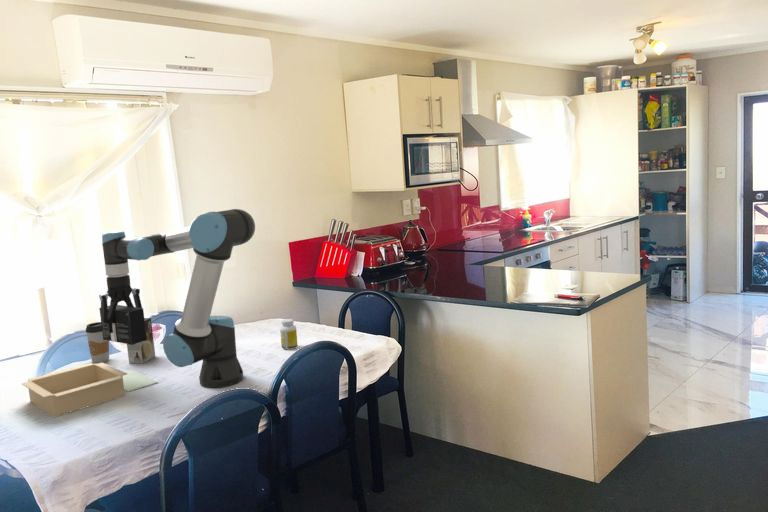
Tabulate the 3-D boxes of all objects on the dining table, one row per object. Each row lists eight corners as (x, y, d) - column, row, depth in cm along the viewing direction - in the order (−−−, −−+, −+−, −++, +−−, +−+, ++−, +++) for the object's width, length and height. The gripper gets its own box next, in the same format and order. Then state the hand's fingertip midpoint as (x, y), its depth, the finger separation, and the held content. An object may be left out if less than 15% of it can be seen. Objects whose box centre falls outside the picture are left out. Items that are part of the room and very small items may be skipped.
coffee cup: (84, 363, 255) (80, 326, 253) (101, 356, 263) (96, 321, 261) (100, 364, 252) (96, 327, 250) (116, 358, 260) (112, 322, 257)
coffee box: (141, 356, 262) (137, 317, 259) (155, 356, 260) (151, 317, 258) (128, 363, 253) (123, 323, 250) (143, 363, 251) (138, 323, 249)
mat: (158, 382, 228) (158, 381, 228) (128, 392, 220) (127, 390, 220) (131, 371, 243) (131, 370, 242) (102, 379, 235) (101, 378, 235)
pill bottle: (300, 346, 264) (299, 319, 262) (290, 351, 259) (288, 323, 257) (288, 344, 268) (286, 317, 266) (278, 349, 262) (276, 321, 260)
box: (148, 340, 227) (143, 307, 225) (132, 345, 222) (127, 312, 220) (119, 334, 237) (114, 303, 234) (102, 340, 231) (97, 307, 229)
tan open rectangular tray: (133, 395, 217) (131, 375, 216) (49, 420, 198) (47, 399, 197) (101, 379, 235) (98, 361, 234) (21, 401, 216) (19, 381, 215)
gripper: (140, 269, 235) (146, 330, 239) (84, 278, 221) (92, 343, 224) (149, 271, 230) (156, 333, 233) (93, 281, 216) (101, 347, 219)
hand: (124, 338), depth 229 cm, fingers closed on box, 7 cm apart
